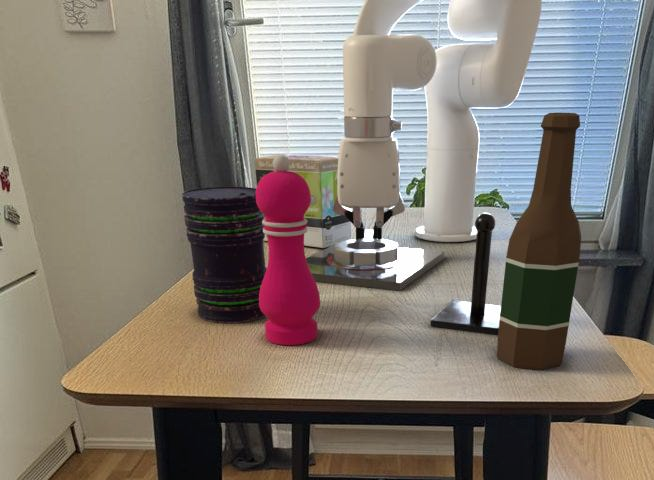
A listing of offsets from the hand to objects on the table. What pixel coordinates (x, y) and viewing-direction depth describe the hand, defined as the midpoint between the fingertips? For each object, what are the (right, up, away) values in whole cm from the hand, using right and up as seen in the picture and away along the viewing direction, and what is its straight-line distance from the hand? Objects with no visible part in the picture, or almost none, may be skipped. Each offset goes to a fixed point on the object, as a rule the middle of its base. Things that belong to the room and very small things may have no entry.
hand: (369, 250), depth 114 cm
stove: (0, -4, -4) cm, 6 cm away
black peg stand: (+14, -19, -28) cm, 36 cm away
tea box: (-12, +7, +15) cm, 20 cm away
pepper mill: (-10, -22, -33) cm, 41 cm away
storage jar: (-18, -17, -24) cm, 35 cm away
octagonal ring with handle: (0, -2, -5) cm, 5 cm away
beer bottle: (+17, -26, -39) cm, 50 cm away
